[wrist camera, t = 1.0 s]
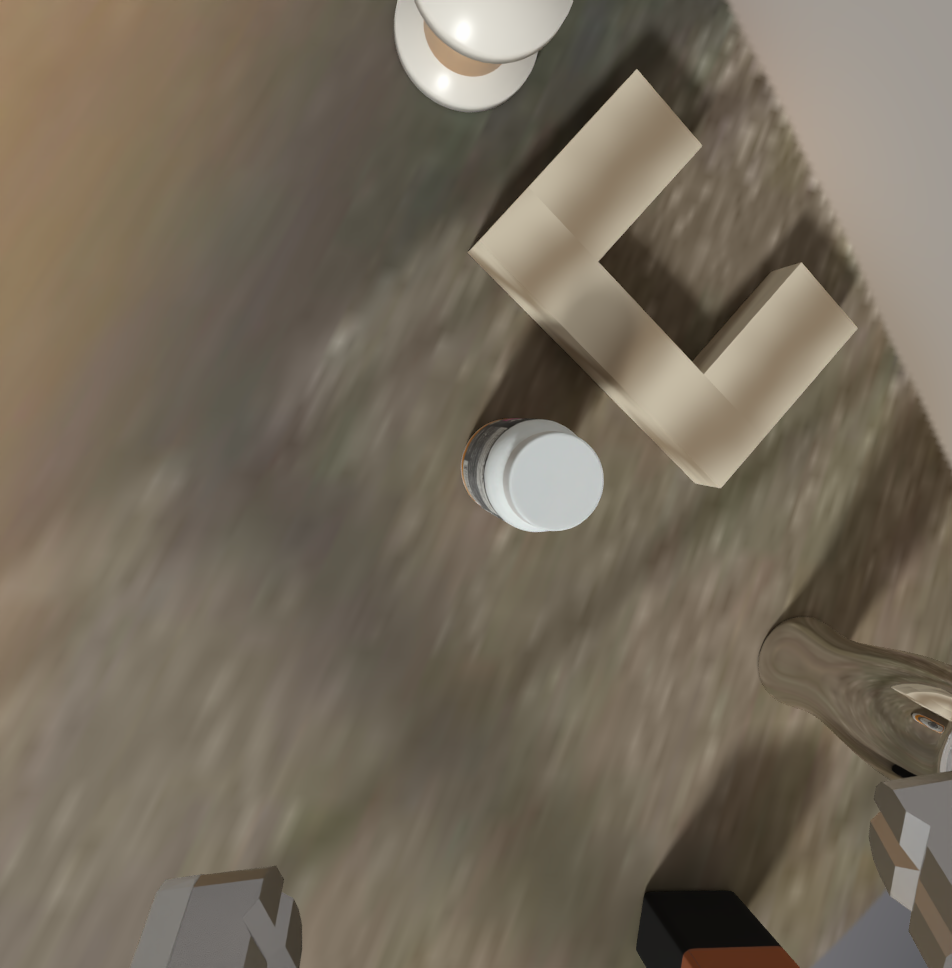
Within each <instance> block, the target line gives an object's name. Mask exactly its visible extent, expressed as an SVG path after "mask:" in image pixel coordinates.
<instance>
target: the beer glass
mask: <svg viewBox="0 0 952 968" xmlns="http://www.w3.org/2000/svg"><path fill="white" fill-rule="evenodd" d="M758 670H759V676H760V680H761V682H762V685H763V686H764V688H765V690H766V691H767V692H768V693H769V695H770V696H772V697H773V698H774V699H775V700H777V701H779V702H781V703H783V704H785V705H788V706H791V707H794V708H797V709H800V710H803V711H806V712H808V713H810V714H812V715H813V716H815V717H816V718H818V719H819V720H820V721H821V722H822V723H824V724H825V725H826V726H827V727H828V728H829V729H830V730H831V731H832V732H833V733H834V734H835V735H836V736H837V737H838V738H839V739H840V740H841V741H843V742H844V743H845V744H846V745H847V746H848V747H849V748H850V749H851V750H852V751H853V752H854V753H855V754H856V755H858V756H859V757H860V758H861V759H862V760H864V761H865V762H866V763H867V764H868V765H869V766H871V767H872V768H873V769H874V770H876V771H877V772H879V773H880V774H882V775H883V776H885V777H886V778H887V779H889V780H895V779H902V778H908V777H914V776H921V775H927V774H934V773H940V772H947V771H952V665H950V664H947V663H944V662H941V661H938V660H936V659H933V658H930V657H926V656H922V655H918V654H914V653H910V652H906V651H901V650H896V649H890V648H885V647H879V646H873V645H868V644H863V643H859V642H856V641H853V640H850V639H848V638H846V637H844V636H842V635H841V634H839V633H838V632H837V631H835V630H834V629H833V628H831V627H830V626H829V625H827V624H826V623H824V622H822V621H820V620H818V619H816V618H812V617H805V616H800V617H794V618H791V619H788V620H786V621H784V622H782V623H781V624H779V625H778V626H777V627H775V628H774V629H773V630H772V631H771V633H770V634H769V635H768V636H767V638H766V640H765V641H764V643H763V645H762V648H761V651H760V655H759V661H758Z"/></svg>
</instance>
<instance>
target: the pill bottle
mask: <svg viewBox="0 0 952 968" xmlns="http://www.w3.org/2000/svg"><path fill="white" fill-rule="evenodd" d="M461 474H462V479H463V483H464V485H465V488H466V490H467V492H468V493H469V495H470V496H471V498H472V499H473V500H474V501H475V502H476V503H477V504H478V505H479V506H481V507H482V508H483V509H485V510H487V511H489V512H490V513H492V514H494V515H495V516H497V517H498V518H500V519H502V520H503V521H505V522H507V523H509V524H510V525H512V526H514V527H516V528H518V529H521V530H524V531H529V532H544V531H561V530H566V529H569V528H572V527H574V526H577V525H578V524H580V523H581V522H583V521H584V520H585V519H586V518H588V517H589V516H590V514H591V513H592V512H593V511H594V509H595V508H596V506H597V505H598V503H599V500H600V498H601V495H602V491H603V484H604V478H603V469H602V465H601V463H600V460H599V458H598V456H597V454H596V453H595V451H594V450H593V449H592V448H591V446H590V445H588V444H587V443H586V442H585V441H584V440H582V439H581V438H579V437H577V436H576V435H575V434H574V433H573V432H572V431H571V430H570V429H568V428H567V427H565V426H563V425H561V424H559V423H557V422H555V421H552V420H546V419H520V418H508V419H499V420H496V421H493V422H490V423H488V424H486V425H484V426H483V427H481V428H480V429H479V430H477V431H476V432H475V433H474V434H473V436H472V437H471V438H470V440H469V441H468V443H467V445H466V447H465V449H464V452H463V455H462V460H461Z"/></svg>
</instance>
